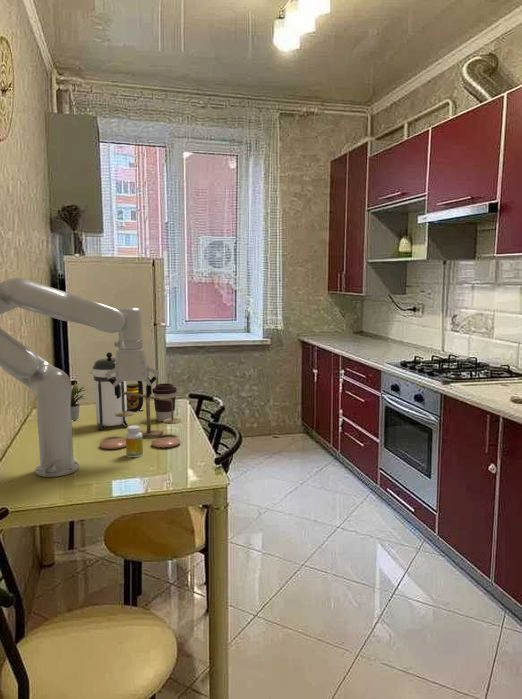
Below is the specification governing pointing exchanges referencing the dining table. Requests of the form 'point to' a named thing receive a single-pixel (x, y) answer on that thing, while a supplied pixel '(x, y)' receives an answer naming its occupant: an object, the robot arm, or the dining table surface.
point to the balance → (149, 433)
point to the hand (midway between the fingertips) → (133, 397)
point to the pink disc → (113, 443)
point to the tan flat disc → (166, 442)
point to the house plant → (74, 406)
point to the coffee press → (110, 395)
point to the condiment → (132, 400)
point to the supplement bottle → (134, 442)
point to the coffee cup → (164, 406)
